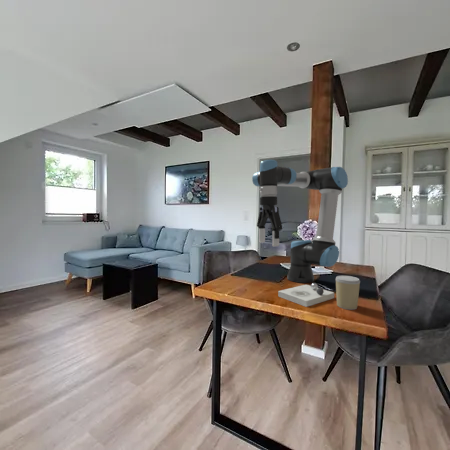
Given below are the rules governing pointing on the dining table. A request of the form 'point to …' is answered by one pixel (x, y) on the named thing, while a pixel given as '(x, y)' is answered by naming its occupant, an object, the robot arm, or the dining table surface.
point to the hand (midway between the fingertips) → (268, 244)
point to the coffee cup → (347, 292)
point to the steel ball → (314, 286)
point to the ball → (320, 291)
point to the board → (305, 295)
